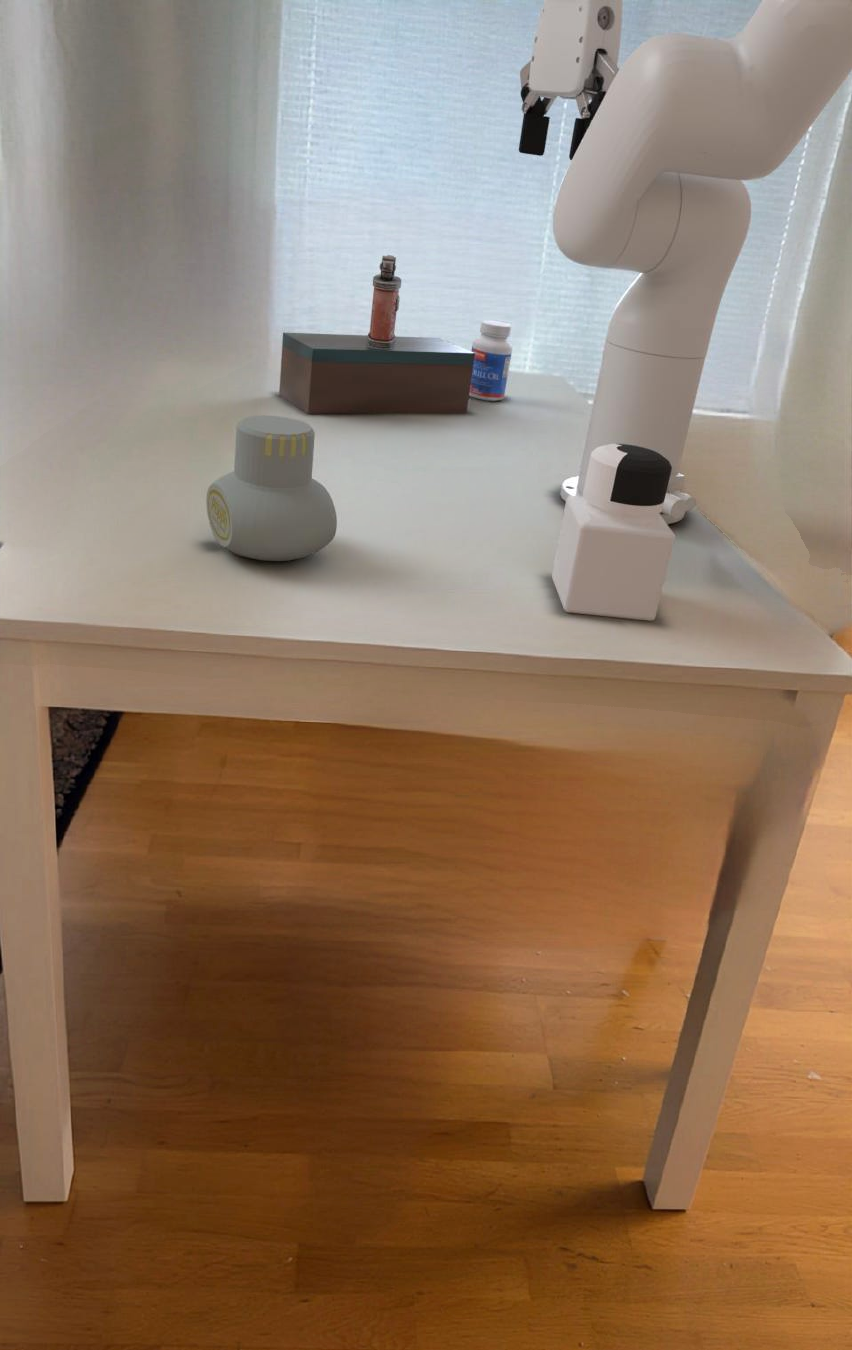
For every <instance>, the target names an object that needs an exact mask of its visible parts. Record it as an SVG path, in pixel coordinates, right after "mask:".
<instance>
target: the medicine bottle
mask: <svg viewBox="0 0 852 1350" xmlns="http://www.w3.org/2000/svg"><path fill="white" fill-rule="evenodd" d="M671 470H672V466H671V464H670V462H669V461H668V460H667V459H666V458H665V457H663V456H662V455H661V454H659V453H657V452H655V451H653V450H650V449H647V448H643V447H639V446H634V445H627V444H608V445H604V446H601V447H598V448H596V449H595V450H594V451H593V452H592V453H591V456H590V461H589V466H588V471H587V476H586V481H585V486H584V491H583V497H580V496H569V497H568V498H567V500H566V502H565V505H564V510H563V516H562V521H561V526H560V530H559V531H560V532H559V537H558V541H557V546H556V552H555V556H554V557H555V558H554V562H553V567H552V571H551V572H552V573H551V579H552V581H553V584H554V587H555V589H556V592H557V595H558V598H559V600H560V603H561V605H562V609H563V610H564V611H565V612H566V613H571V614H580V615H590V616H600V617H601V616H602V617H611V618H619V619H629V620H637V621H638V620H640V621H650V622H652V621H654V620H655V619H656V617H657V613H658V607H659V605H660V599H661V595H662V592H663V588H664V583H665V581H666V580H665V579H666V575H667V572H668V567H669V563H670V558H671V555H672V551H673V546H674V543H675V537H676V536H675V533H674V532H673V530H672V529H671V527H670V526H669V524H666V522H665V521H664V519H663V518H662V517H661V515H660V514H659V513H660V512H661V511H662V509H663V504H664V500H665V496H666V492H667V487H668V483H669V479H670V475H671Z"/></svg>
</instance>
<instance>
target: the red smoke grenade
mask: <svg viewBox="0 0 852 1350" xmlns="http://www.w3.org/2000/svg"><path fill="white" fill-rule="evenodd" d="M396 260H397V257H396V256H394V255H391V254H387V255H382V257H381V262H380V263H379V270H380V274H376V275H374V276H372V287H373V292H372V294H373V295H372V303H371V313H370V314H371V315H370V325H369V332H368V333H367V335H368V338H367V344H368V346H369V347H372V348H377V349H391V348H392V347H393V346H394V345H395V336H396V334H395V329H396V321H397V312H398V311H399V308H400V295H399V293H400V292H399V291H400V289H401V288H402V278H400V277H399V276H396V275H395V272H396V269H397V266H396V263H397V262H396Z"/></svg>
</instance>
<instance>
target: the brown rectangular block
mask: <svg viewBox="0 0 852 1350" xmlns="http://www.w3.org/2000/svg"><path fill="white" fill-rule="evenodd" d="M367 338H368V334H367V335H365V334H363V335H362V334H338V333H337V334H335V333H331V334H330V333H307V332H282V341H281V342H282V343H281V344H282V345H281V359H280V373H279V374H280V376H279V390H278V395H279V396H281V397H282V398H283V399H285V400H286V401H288V402H290V403H292V405H294V406H295V407H297V408H298V409H300V410H302V411H303V412H304V413H306V414H308V415H317V414H318V415H330V414H331V415H333V414H334V415H340V414H341V415H342V414H343V415H344V414H345V415H348V414H350V415H352V414H355V415H357V414H358V415H359V414H362V415H363V414H365V415H366V414H367V415H368V414H369V415H371V414H373V415H375V414H467V413H468V405H469V399H470V396H469V393H470V386H471V379H472V372H473V365H474V358H475V353H473V352H471V351H472V350H468V349H466V348H464V347H461V346H459V345H457V344H455V343H452V342H450V341H448V340H445V339H443V338H441V337H423V336H396V335H395V345H394V346H393V347H392V348H391V349H377V348H372V347H369V346H368V344H367Z"/></svg>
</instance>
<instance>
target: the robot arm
mask: <svg viewBox="0 0 852 1350" xmlns="http://www.w3.org/2000/svg"><path fill="white" fill-rule="evenodd" d="M622 25H623V0H543V2H542V6H541V10H540V14H539V17H538V23H537V26H536V27H537V28H536V32H535V37H534V43H533V48H532V53H531V59H530V60H529V62H527V63H526V64H525V65H524V66H523V67H522V68H521V69H520V72H519V78H520V79H519V80H520V87H521V89H520V98H521V100H522V104H521V112H522V113H523V118H522V123H521V124H522V125H521V129H520V131H521V132H520V138H519V145H518V152H519V154H525V155H533V156H539V157H542V156H543V155H544V154H545V152H546V144H547V138H548V133H549V132H548V131H549V125H550V119H551V117H550V116H546V115H547V114H548V112H549V111H550V109H551V107H552V105H554V102H555V101H556V99H557V97H559V98H561V99H563V100H568V101H576V105H577V108H578V113H579V116H580V117H575V121H574V125H573V131H572V136H571V142H570V148H569V154H568V158H569V160H570V163H569V165H568V167H567V169H566V171H565V172H564V176H563V177H562V180H561V182H560V185H559V189H558V190H557V194H556V197H555V201H554V206H553V213H552V233H553V239H554V241H555V244H556V247H558V250H559V251H560V252H561V253H562V254H563V255H564V257H565V258H567V259H568V260H569V261H571V262H573V263H576V264H578V265H581V266H584V267H585V266H586V267H590V268H597V269H598V268H599V269H604V270H614V271H615V270H616V271H626V272H635V273H639V275H638V276H637V277H636V278H635V279H634V281H633V282H632V283H631V284H630V286H629V287H628V288H627V290H626V291H625V292H624V293H623V295H622V296H621V297H620V299H619V301H618V302H617V304H616V306H615V307H614V310H613V312H612V314H611V316H610V320H609V322H608V325H607V331H606V336H605V340H604V345H603V351H602V356H601V360H600V366H599V370H598V376H597V380H596V381H597V382H596V387H595V392H594V396H593V401H592V407H591V413H590V416H589V422H588V428H587V431H586V432H587V433H586V438H585V443H584V448H583V453H582V457H581V458H582V459H581V464H580V469H579V473H578V475H577V476H573V477H569V478H567V479H566V480H564V481H563V482H562V483H561V486H560V491H559V495H560V497H561V499H562V500H563V501H564V503H566V500H567V498H568V497H569V496H580V497H583V491H584V486H585V481H586V476H587V471H588V466H589V461H590V456H591V453H592V452H593V451H594V450H595V449H596V448H598V447H601V446H604V445H608V444H627V445H634V446H639V447H643V448H647V449H650V450H653V451H655V452H657V453H659V454H661V455H662V456H663V457H665V458H666V459H667V460H668V461H669V462H670V464H671V466H672V470H671V475H670V479H669V483H668V487H667V492H666V496H665V500H664V504H663V509H662V511H661V512H660V513H659V514H660V515H661V517H662V518H663V519H664V521H665V522H666V524H667V525H670V524H675V523H678V522H679V521H681V520H682V519H684V517H685V514H686V511H688V512H690V511H692V510H693V509H694V508H695V506H696V505H697V498H696V497H694V496H692V495H691V494H689V493H686V492H682V490H683V485H684V480H685V477H686V476H685V475H683V474H681V473H680V472H679V470H680V466H681V461H682V457H683V452H684V449H685V445H686V440H687V436H688V433H689V429H690V424H691V420H692V415H693V411H694V407H695V403H696V399H697V394H698V391H699V390H698V389H699V386H700V381H701V378H702V373H703V369H704V364H705V360H706V357H707V354H708V350H709V346H710V342H711V338H712V335H713V329H714V326H715V322H716V318H717V315H718V311H719V309H720V304H721V303H722V298H723V295H724V293H725V290H726V287H727V284H728V282H729V279H730V277H731V275H732V272H733V270H734V268H735V265H736V263H737V261H738V258H739V256H740V254H741V251H742V249H743V247H744V245H745V242H746V239H747V235H748V234H749V233H748V232H749V229H750V225H751V220H752V202H751V196H750V194H749V191H748V189H747V187H746V185H745V184H744V182H743V181H755V180H759V179H762V178H765V177H767V176H769V175H770V174H772V173H773V172H774V171H776V170H777V169H778V168H779V167H780V166H781V165H782V164H783V163H784V161H786V159H787V158H788V157H789V155H790V154H791V153H792V152H793V151H794V149H795V148H796V147H797V145H798V144H799V143H800V141H801V140H802V138H803V137H804V136H805V135H806V134H807V132H808V130H809V129H810V127H812V125H813V123H815V121H816V119H817V118H818V117H819V116H820V114H821V113H822V112H823V110H824V109H825V107H826V106H827V105H828V103H829V102H830V101H831V99H832V98H833V96H834V95H835V94H836V92H837V91H838V90H839V88H840V87H841V85H842V84H843V83H844V81H845V80H846V79H847V77H848V76H849V75H850V74H851V72H852V0H761V1H760V3H759V5H758V7H757V9H756V11H755V12H754V13H753V15H752V16H751V18H750V19H749V20H748V22H747V23H746V25H745V26H744V27H743V29H741V31H739V33H738V34H737V35H735V36H732V37H730V38H726V39H717V38H711V37H706V36H702V35H701V36H700V35H694V34H690V33H681V32H668V33H662V34H658V35H655V36H652V37H649V39H646V40H644V42H642V43H641V44H639V46H637V47H636V48H635V49H634V50H633V51H632V52H631V53H630V54H629V55H628V57H627V58H626V59H625V60H624V61H623V62H622V64H621V66H620V67H618V64H619V63H618V62H619V55H620V47H621V38H622V37H621V36H622Z"/></svg>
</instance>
